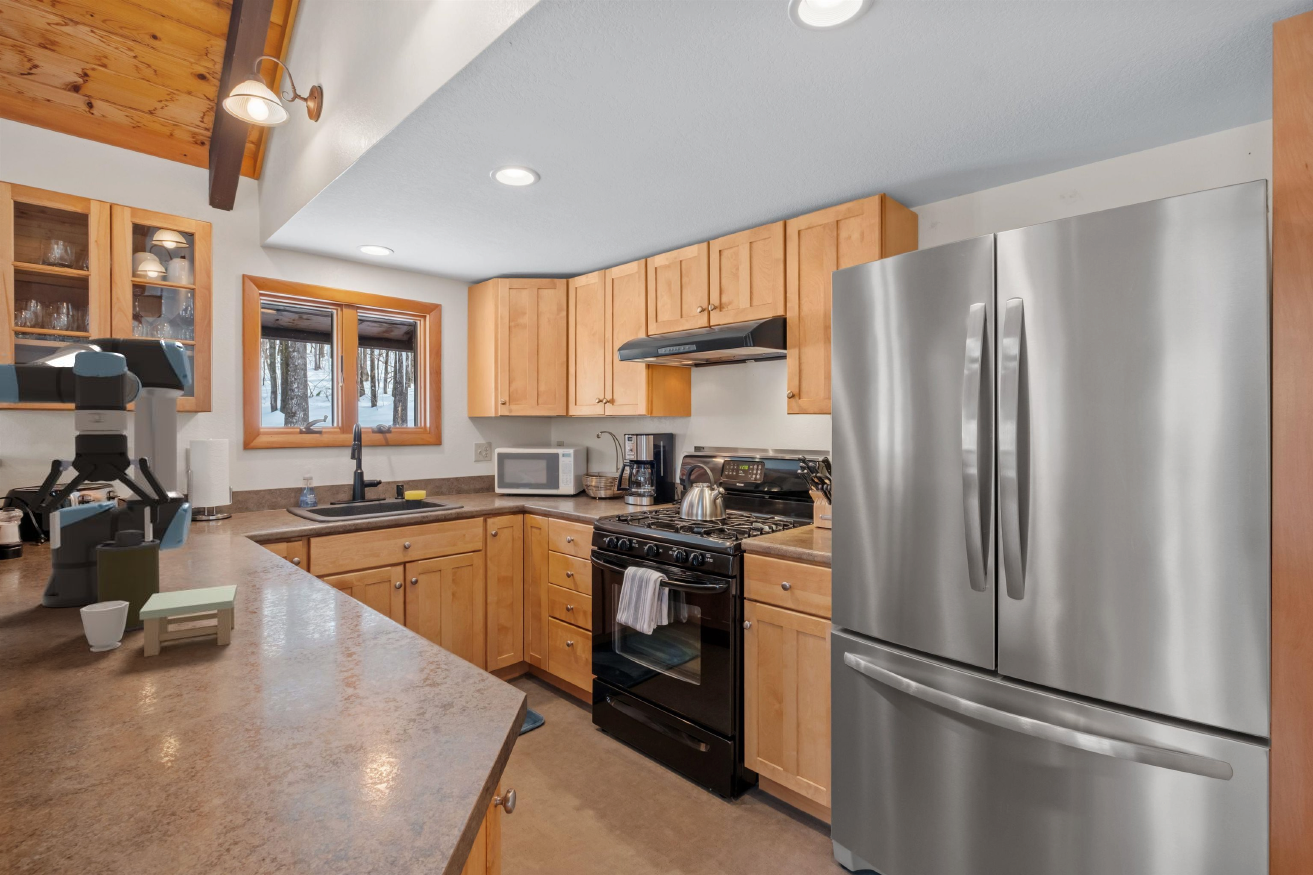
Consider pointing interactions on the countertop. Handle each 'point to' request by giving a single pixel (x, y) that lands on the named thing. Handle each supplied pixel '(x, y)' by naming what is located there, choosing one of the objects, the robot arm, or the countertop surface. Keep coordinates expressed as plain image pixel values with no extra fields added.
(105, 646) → the cup
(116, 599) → the canister
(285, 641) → the countertop surface
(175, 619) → the stool
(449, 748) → the countertop surface
